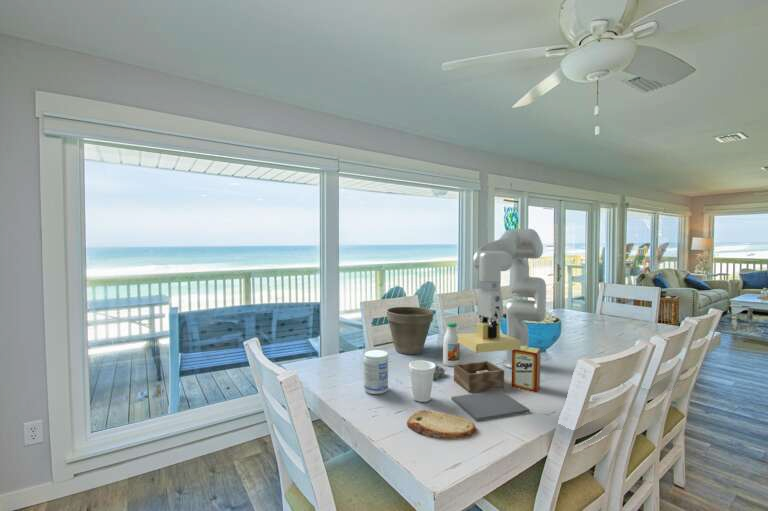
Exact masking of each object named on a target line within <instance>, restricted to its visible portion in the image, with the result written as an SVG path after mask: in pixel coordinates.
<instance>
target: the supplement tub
mask: <svg viewBox="0 0 768 511" xmlns="http://www.w3.org/2000/svg"><path fill="white" fill-rule="evenodd" d="M363 360H364V361H363V366H364V367H363V389H364V391H365V393H367V394H371V395H381V394H385V393H386V392H387V391H388V389H389V354H388V352H387V351H384V350H379V349H377V350H376V349H373V350H368V351H366V352H365V353H364V358H363Z"/></svg>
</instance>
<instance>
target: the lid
mask: <svg viewBox="0 0 768 511" xmlns="http://www.w3.org/2000/svg"><path fill="white" fill-rule="evenodd" d="M488 327H490V326H489V321H488V322H486V323H480V322H476V332H469V333H457V342H458V343H460V345H461V346H464V347H465V348H467V349H469V350H471V351H472V352H475V353H477V354H479V353H480V354H481V353H488V352H489V353H491V352H501V351H503V352H505V351H507V350H517V349H520V345H521V341H520V340H517V339H515V338H512V337H510V336H507V334H505V333H503V332H501V324H500V323H499V324H498V327H497V337H496V338H488Z"/></svg>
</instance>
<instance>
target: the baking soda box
mask: <svg viewBox="0 0 768 511" xmlns="http://www.w3.org/2000/svg"><path fill="white" fill-rule="evenodd" d="M541 352H542V350H541V348H537V347H530V346H529V345H528V346H520V349H517V350H512V369H511V388H514V387H515V388H514V389H518V388H520V389H519V390H523V389H524V390H523V391H527V390H529V391H528V392H532V391H533V392H532V393H537V392H538V391H539V389H540V387H541V384H540V383H541ZM537 390H538V391H537Z"/></svg>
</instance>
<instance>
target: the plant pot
mask: <svg viewBox="0 0 768 511" xmlns="http://www.w3.org/2000/svg"><path fill="white" fill-rule="evenodd" d="M386 320H387V321H388V324H389V329H390V334H391V337H392V342H393V346H394V348H395V349H394V350H395V352H397V353H400V354H405V355H417V354H420V353H422V352H423V349H424V347H425V345H426V344H425V343H426V341H427V337H428V334H429V330H430V327H431V323H432V322H433V321H434V311H433V310H432V309H429V308H425V307H419V306H394V307H390V308H388V309H387V310H386Z"/></svg>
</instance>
